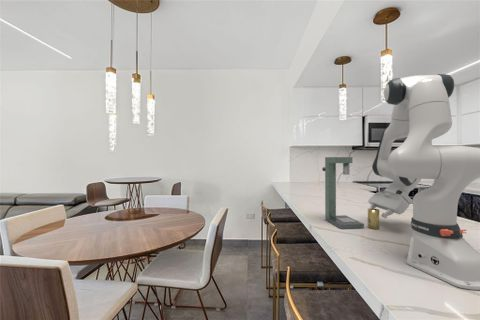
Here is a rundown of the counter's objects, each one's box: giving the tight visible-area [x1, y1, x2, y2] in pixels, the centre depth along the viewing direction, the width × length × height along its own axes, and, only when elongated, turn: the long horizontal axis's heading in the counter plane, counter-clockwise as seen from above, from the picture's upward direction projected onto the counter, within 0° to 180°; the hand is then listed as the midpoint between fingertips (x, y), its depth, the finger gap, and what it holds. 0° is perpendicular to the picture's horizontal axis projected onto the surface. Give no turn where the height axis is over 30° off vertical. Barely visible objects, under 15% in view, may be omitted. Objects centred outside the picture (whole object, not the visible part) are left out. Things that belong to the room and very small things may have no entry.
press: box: [321, 156, 365, 230], centre depth 121 cm, size 22×12×35 cm, turn 5°
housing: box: [367, 207, 380, 230], centre depth 111 cm, size 5×5×9 cm
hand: (376, 214), depth 111 cm, fingers open, 8 cm apart
